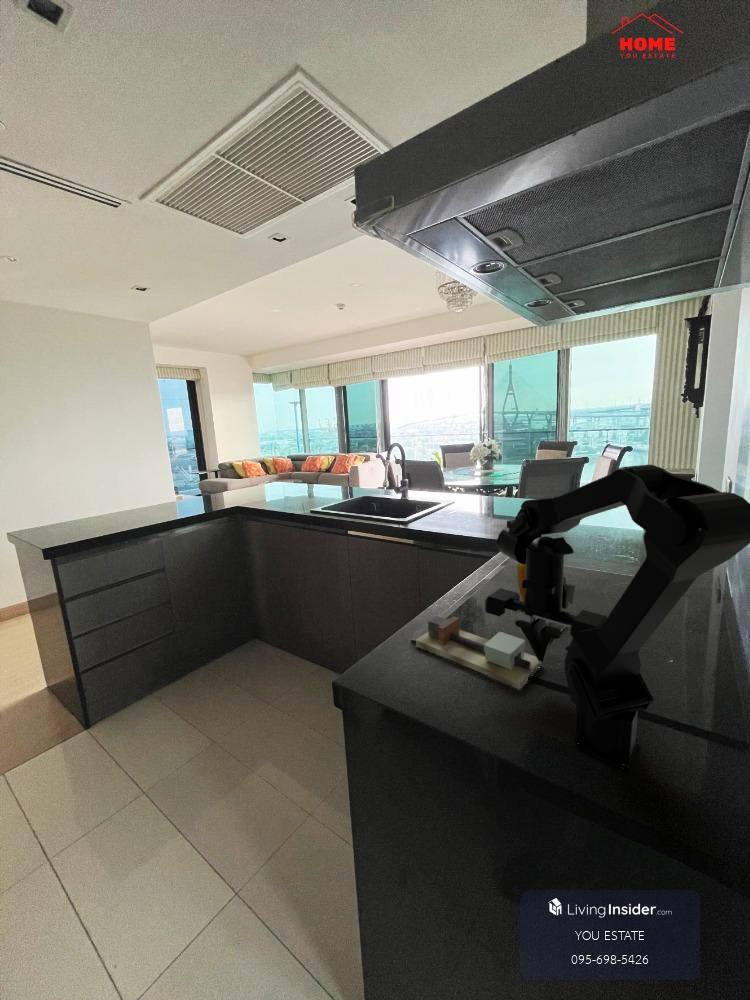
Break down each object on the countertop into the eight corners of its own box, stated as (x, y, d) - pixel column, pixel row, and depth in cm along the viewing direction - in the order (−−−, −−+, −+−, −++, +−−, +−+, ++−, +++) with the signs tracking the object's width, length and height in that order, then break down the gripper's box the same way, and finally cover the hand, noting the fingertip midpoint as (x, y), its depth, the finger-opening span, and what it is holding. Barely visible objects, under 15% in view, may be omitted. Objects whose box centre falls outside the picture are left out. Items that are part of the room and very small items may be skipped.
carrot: (540, 612, 96) (541, 550, 93) (517, 610, 97) (518, 549, 94) (537, 603, 101) (539, 543, 98) (516, 601, 102) (517, 543, 99)
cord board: (541, 666, 76) (542, 640, 75) (520, 690, 69) (520, 663, 68) (441, 629, 91) (440, 607, 90) (416, 646, 84) (415, 623, 83)
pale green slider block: (525, 656, 76) (525, 640, 75) (510, 671, 72) (510, 654, 71) (499, 646, 79) (499, 631, 79) (483, 660, 75) (483, 644, 74)
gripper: (622, 571, 67) (616, 659, 70) (512, 550, 79) (511, 625, 82) (600, 594, 59) (595, 692, 62) (483, 567, 72) (483, 649, 75)
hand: (541, 660), depth 70 cm, fingers closed
